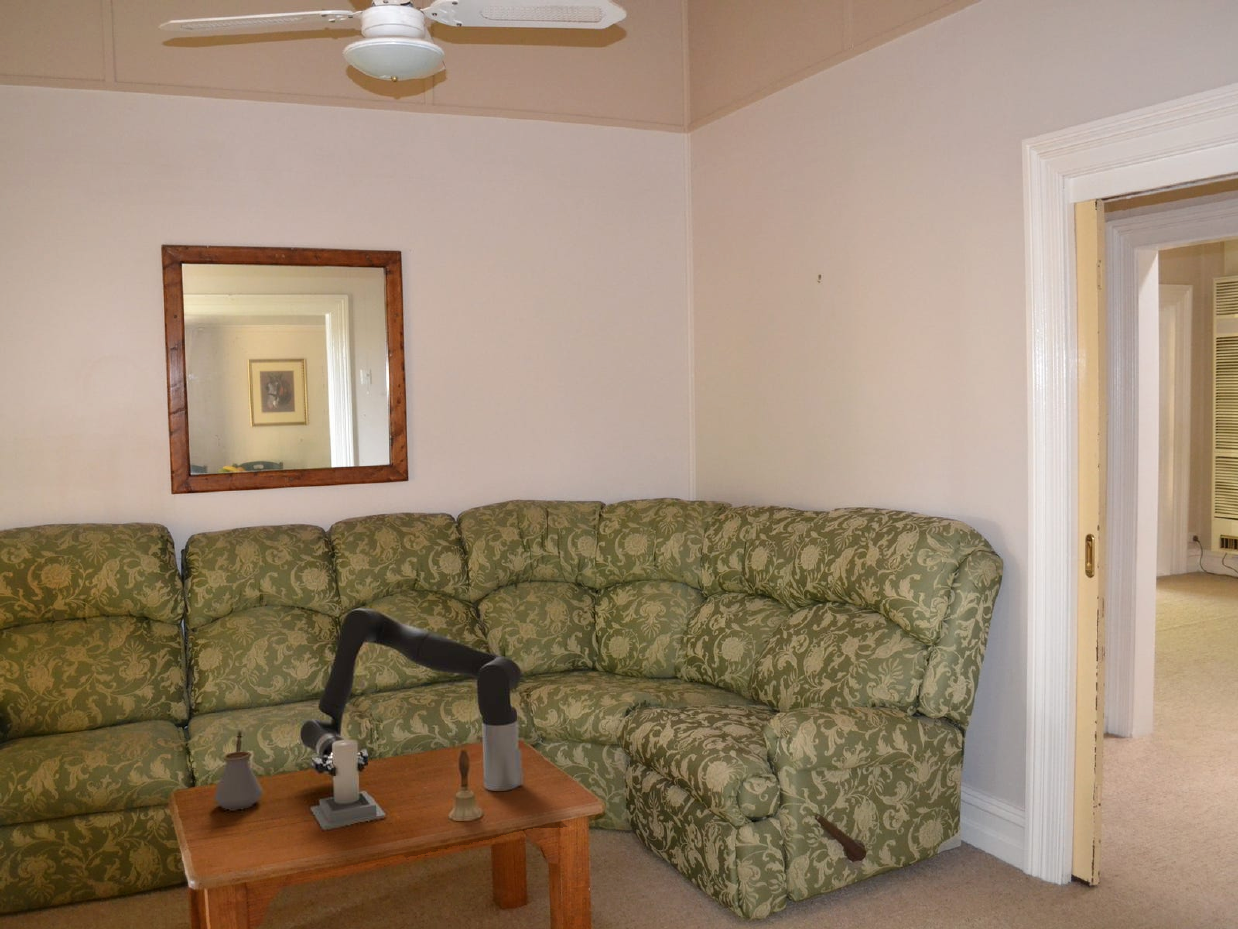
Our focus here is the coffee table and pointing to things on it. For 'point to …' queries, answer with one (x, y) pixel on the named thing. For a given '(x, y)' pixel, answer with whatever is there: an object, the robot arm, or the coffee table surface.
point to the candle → (345, 771)
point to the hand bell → (465, 795)
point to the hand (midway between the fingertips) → (347, 770)
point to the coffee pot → (237, 781)
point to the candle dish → (346, 811)
